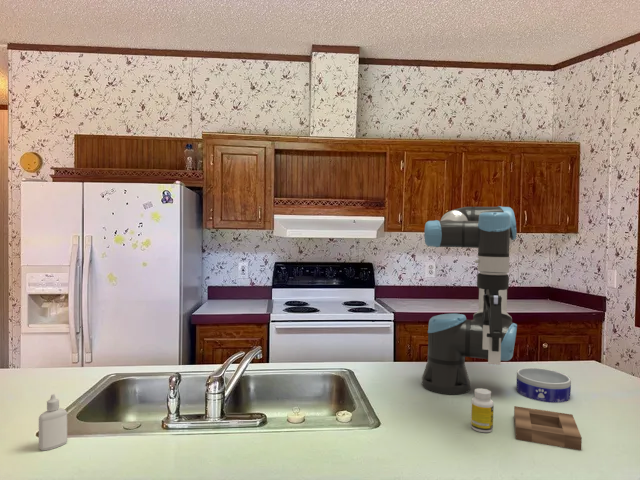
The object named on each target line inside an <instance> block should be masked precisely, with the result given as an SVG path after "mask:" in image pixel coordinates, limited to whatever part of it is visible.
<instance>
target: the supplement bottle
mask: <svg viewBox="0 0 640 480" xmlns="http://www.w3.org/2000/svg"><path fill="white" fill-rule="evenodd" d="M491 398H492V391H491V390H490V389H487V388H481V387H480V388H475V389H474V396H473V397H472V399H471V403H470V404H471V405H470V408H471V409H470V427H471V429H473V430H474V431H476V432H479V433H491V432H493V430H494V405H495V404H494V401H493V400H492V399H491Z"/></svg>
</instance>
